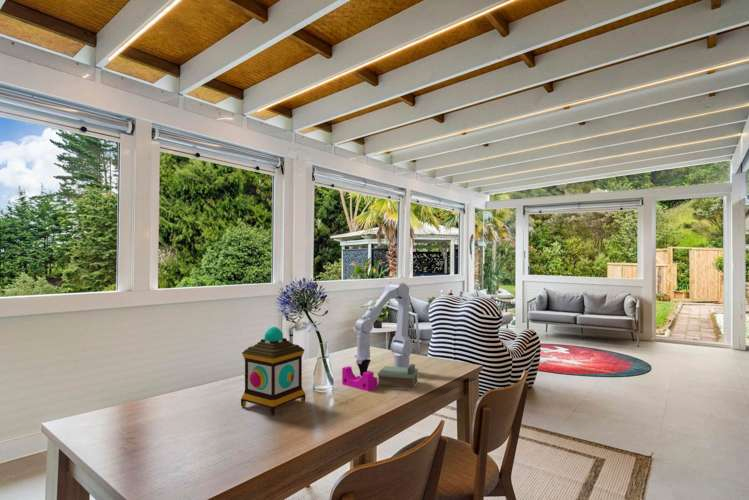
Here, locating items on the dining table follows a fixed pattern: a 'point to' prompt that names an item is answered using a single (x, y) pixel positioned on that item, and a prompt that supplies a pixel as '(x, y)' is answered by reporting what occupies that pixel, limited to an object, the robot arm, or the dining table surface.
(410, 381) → the brown wooden tray
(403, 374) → the lid
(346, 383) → the toy block
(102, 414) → the dining table surface
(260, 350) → the decorative lantern
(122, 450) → the dining table surface
